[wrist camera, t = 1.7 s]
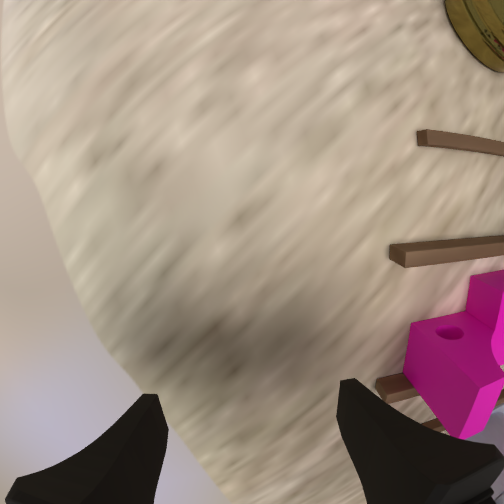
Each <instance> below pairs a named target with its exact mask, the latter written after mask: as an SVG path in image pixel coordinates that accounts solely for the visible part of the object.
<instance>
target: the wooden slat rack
mask: <svg viewBox="0 0 504 504" xmlns="http://www.w3.org/2000/svg"><path fill="white" fill-rule="evenodd" d="M417 137H418V146H430V147H440V148H449V149H458V150H466V151H473V152H480V153H487V154H494V155H500V156H504V142H501V141H496V140H491V139H486V138H481V137H475V136H469V135H463V134H457V133H450V132H443V131H436V130H428V129H426V130H421V131H417ZM501 255H504V235H501V236H489V237H477V238H465V239H453V240H441V241H429V242H417V243H404V244H392V245H390V260H392V261H394V262H396V263H397V264H399V265H401V266H403V267H404V268H409V267H418V266H426V265H434V264H442V263H450V262H458V261H465V260H472V259H480V258H487V257H494V256H501ZM375 389H376V390H377V392H378V393H379V395H380V397H381V398H382V400H383V401H384V402H386V403H387V404H389V403H393V402H397V401H401V400H404V399H408V398H412V397H415V396H418V395H420V394H419V393H418V392H417V390H416V389H415V388H414V386H413V385H412V384H411V383H410V381H409V380H408V379H407V377H406V376H405V375H404V374H403V373H401V374H396V375H392V376H388V377H383V378H379V379H377V382H376V387H375ZM502 403H504V389H503V390H501V393H500V395H499V397H498V400H497V402H496V404H495V407H496V406H498V405H500V404H502ZM422 425H424V426H426V427H428V428H430V429H433V430H435V431H438V432H441V431H444V430H446V429H445V428H444V426H443V425H442V423H441V422H440V421H439V419H438V418H437V419H434V420H431V421H428V422H426V423H423V424H422Z"/></svg>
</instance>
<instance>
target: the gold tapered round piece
mask: <svg viewBox="0 0 504 504" xmlns="http://www.w3.org/2000/svg"><path fill="white" fill-rule="evenodd" d="M445 3H446V9H447V13H448V16H449V18H450V20H451V23H452V25H453V27H454V29H455V30H456V32H457V34H458V35H459V37H460V38H461V40H462V41H463V43H464V44H465V45H466V46H467V48H468V49H469V50H470V51H471V52H472V53H473V54H474V55H475V57H477V58H478V59H479V60H480V61H481V62H482V63H483V64H485V65H486V66H488V67H489V68H491V69H493V70H495V71H498V72H504V0H445Z"/></svg>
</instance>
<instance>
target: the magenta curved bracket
mask: <svg viewBox="0 0 504 504" xmlns="http://www.w3.org/2000/svg"><path fill="white" fill-rule="evenodd" d="M503 364H504V270H500V271H494V272H489V273H483V274H478V275H472V276H471V277H470V285H469V291H468V298H467V304H466V309H465V311H463V312H459V313H455V314H450V315H446V316H441V317H437V318H432V319H428V320H423V321H418V322H413V323H411V327H410V334H409V340H408V346H407V352H406V357H405V362H404V367H403V374H404V375H405V376H406V377H407V379H408V380H409V381H410V383H411V384H412V385H413V386H414V388H415V389H416V390H417V392H418V393H419V394H420V396H421V397H422V398H423V399H424V401H425V402H426V403H427V405H428V406H429V407H430V409H431V410H432V411H433V413H434V414H435V415H436V417H437V418H438V419H439V421H440V422H441V423H442V425H443V426H444V428H445V429H446V430H447V432H448V433H449V434H450V436H452V437H456V438H459V439H464V440H465V439H467V438H469V437H471V436H473V435H475V434H477V433H479V432H481V431H483V430H484V428H485V426H486V424H487V422H488V420H489V417H490V415H491V413H492V411H493V409H494V407H495V404H496V402H497V400H498V397H499V395H500V393H501V390H502V388H503V385H504V372H503V370H502V369H501V368H500V365H503Z"/></svg>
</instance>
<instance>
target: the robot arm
mask: <svg viewBox="0 0 504 504" xmlns="http://www.w3.org/2000/svg"><path fill="white" fill-rule="evenodd" d="M336 417H337V421H338V425H339V429H340V432H341V436H342V438H343V441H344V443H345V445H346V448H347V450H348V452H349V455H350V457H351V459H352V461H353V464H354V466H355V468H356V471H357V473H358V475H359V478H360V480H361V483H362V486H363V490H364V493H365V497H366V500H367V504H504V403H502V404H500V405H498V406H496V407H494V409H493V411H492V413H491V415H490V417H489V420H488V422H487V424H486V426H485V428H484V430H483V431H481V432H479V433H477V434H475V435H473V436H471V437H469V438H467V439H465V440H464V439H459V438H456V437H452V436H449V435H446V434H443V433H441V432H438V431H435V430H433V429H430V428H428V427H426V426H424V425H422V424H420V423H418V422H416V421H414V420H412V419H410V418H409V417H407V416H405V415H404V414H402V413H400V412H399V411H397V410H396V409H394V408H393V407H391V406H390V405H388V404H387V403H386V402H384V401H383V400H382V399H380V398H379V397H378V396H377V395H375V394H374V393H373V392H371V391H370V390H369V389H368V388H367V387H365V386H364V385H363V384H362V383H360V382H359V381H358V380H357V379H355V378H352V379H346V380H341V381H340V389H339V398H338V407H337V415H336ZM168 430H169V429H168V426H167V423H166V420H165V417H164V414H163V411H162V407H161V404H160V401H159V398H158V394H143V395H142V396H141V397H140V398H139V399H138V400H137V401H136V402H135V403H134V404H133V405H132V406H131V407H130V408H129V409H128V410H127V411H126V412H125V413H124V414H123V415H122V416H121V417H120V418H119V419H118V420H117V421H116V422H115V423H114V424H113V425H112V426H111V427H110V428H109V429H108V430H107V431H106V432H104V433H103V434H102V435H101V436H100V437H99V438H97V439H96V440H95V441H94V442H92V443H91V444H90V445H88V446H87V447H85V448H84V449H83V450H81V451H80V452H78V453H76V454H75V455H73V456H71V457H69V458H68V459H66V460H64V461H62V462H60V463H58V464H56V465H54V466H52V467H49V468H47V469H44V470H42V471H39V472H36V473H33V474H29V475H26V476H22V477H18V478H17V479H16V480H15V482H14V484H13V486H12V487H11V489H10V491H9V493H8V495H7V497H6V498H5V502H6V504H154V497H155V492H156V488H157V484H158V480H159V476H160V472H161V468H162V464H163V461H164V457H165V453H166V448H167V439H168Z"/></svg>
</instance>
